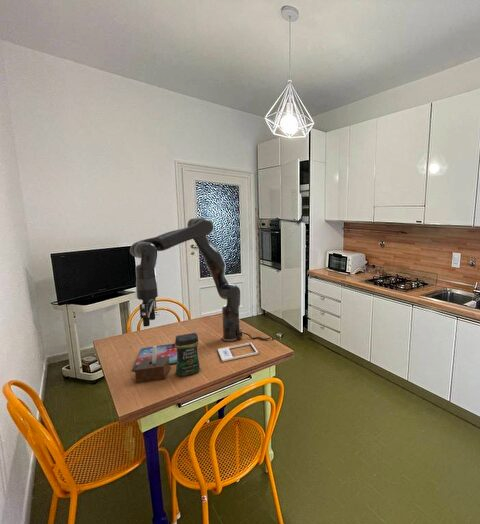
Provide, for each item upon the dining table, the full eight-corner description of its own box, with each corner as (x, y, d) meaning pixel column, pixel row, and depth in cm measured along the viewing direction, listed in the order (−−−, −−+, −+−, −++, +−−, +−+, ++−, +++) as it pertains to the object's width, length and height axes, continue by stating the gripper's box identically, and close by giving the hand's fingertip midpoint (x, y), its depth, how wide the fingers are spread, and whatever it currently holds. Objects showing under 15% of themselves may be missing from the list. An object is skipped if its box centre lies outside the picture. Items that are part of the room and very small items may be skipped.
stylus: (155, 374, 135) (157, 345, 133) (154, 375, 133) (156, 346, 132) (151, 374, 134) (153, 345, 133) (150, 375, 133) (152, 346, 131)
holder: (169, 367, 141) (168, 355, 140) (164, 378, 131) (163, 366, 130) (143, 370, 137) (142, 358, 136) (135, 382, 127) (134, 369, 126)
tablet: (133, 371, 136) (132, 369, 136) (141, 349, 158) (141, 348, 158) (180, 362, 145) (180, 361, 145) (182, 343, 167) (182, 342, 167)
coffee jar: (177, 379, 131) (175, 339, 128) (175, 371, 137) (173, 333, 135) (201, 372, 137) (199, 335, 134) (198, 365, 143) (196, 329, 141)
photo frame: (217, 348, 159) (251, 342, 169) (217, 350, 160) (251, 344, 169) (222, 359, 147) (258, 352, 157) (222, 361, 147) (258, 354, 157)
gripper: (152, 290, 123) (154, 327, 125) (161, 283, 136) (163, 316, 138) (130, 291, 120) (134, 329, 122) (142, 284, 133) (144, 318, 136)
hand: (149, 322), depth 130 cm, fingers open, 8 cm apart
